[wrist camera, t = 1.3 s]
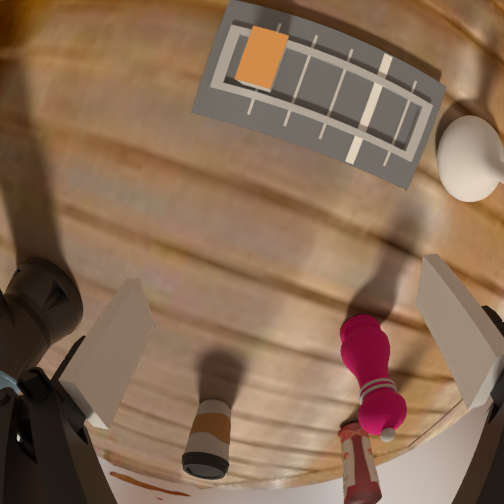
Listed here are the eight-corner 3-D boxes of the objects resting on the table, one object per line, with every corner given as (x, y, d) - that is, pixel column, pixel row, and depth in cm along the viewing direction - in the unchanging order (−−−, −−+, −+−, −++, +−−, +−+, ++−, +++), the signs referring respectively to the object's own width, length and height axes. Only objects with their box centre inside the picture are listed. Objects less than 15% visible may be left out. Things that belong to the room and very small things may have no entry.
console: (195, 112, 33) (189, 112, 30) (232, 4, 27) (229, -4, 24) (400, 185, 35) (409, 192, 33) (438, 86, 29) (449, 86, 26)
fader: (243, 84, 29) (234, 78, 23) (257, 42, 27) (253, 25, 20) (270, 92, 30) (270, 88, 23) (285, 50, 27) (289, 35, 21)
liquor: (336, 421, 57) (348, 542, 32) (370, 415, 56) (390, 533, 31) (336, 436, 60) (345, 546, 35) (367, 431, 59) (383, 539, 34)
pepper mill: (360, 303, 43) (397, 417, 25) (390, 324, 45) (430, 430, 27) (327, 334, 46) (344, 448, 28) (357, 352, 48) (382, 458, 30)
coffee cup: (186, 403, 57) (170, 466, 43) (214, 390, 54) (201, 459, 40) (215, 422, 59) (205, 482, 46) (244, 410, 56) (238, 476, 43)
